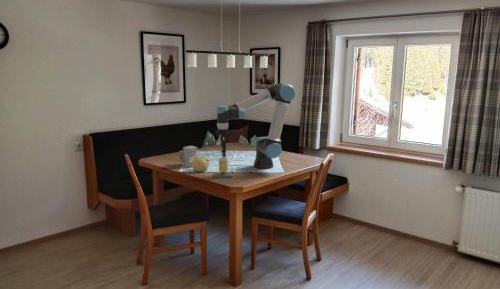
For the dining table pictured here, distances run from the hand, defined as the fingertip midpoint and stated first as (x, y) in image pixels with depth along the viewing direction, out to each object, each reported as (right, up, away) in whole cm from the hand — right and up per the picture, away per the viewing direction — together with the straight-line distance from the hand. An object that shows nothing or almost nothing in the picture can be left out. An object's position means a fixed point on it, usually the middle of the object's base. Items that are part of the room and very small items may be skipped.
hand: (223, 158), depth 269 cm
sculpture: (-18, -10, +14) cm, 25 cm away
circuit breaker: (-30, -7, +29) cm, 42 cm away
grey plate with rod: (-1, -12, +2) cm, 13 cm away
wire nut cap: (-1, -9, +2) cm, 9 cm away
